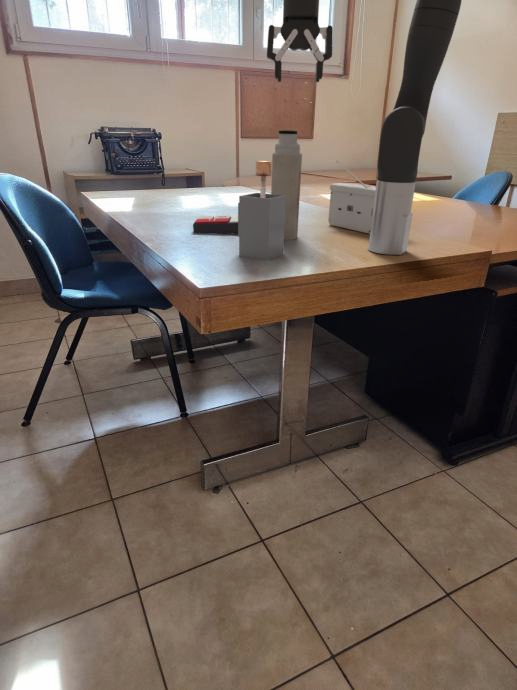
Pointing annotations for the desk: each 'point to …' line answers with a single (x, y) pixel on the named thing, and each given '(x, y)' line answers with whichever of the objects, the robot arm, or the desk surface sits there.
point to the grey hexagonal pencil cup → (261, 225)
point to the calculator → (216, 224)
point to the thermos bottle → (288, 178)
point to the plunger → (263, 174)
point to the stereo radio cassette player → (351, 205)
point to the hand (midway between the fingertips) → (298, 81)
